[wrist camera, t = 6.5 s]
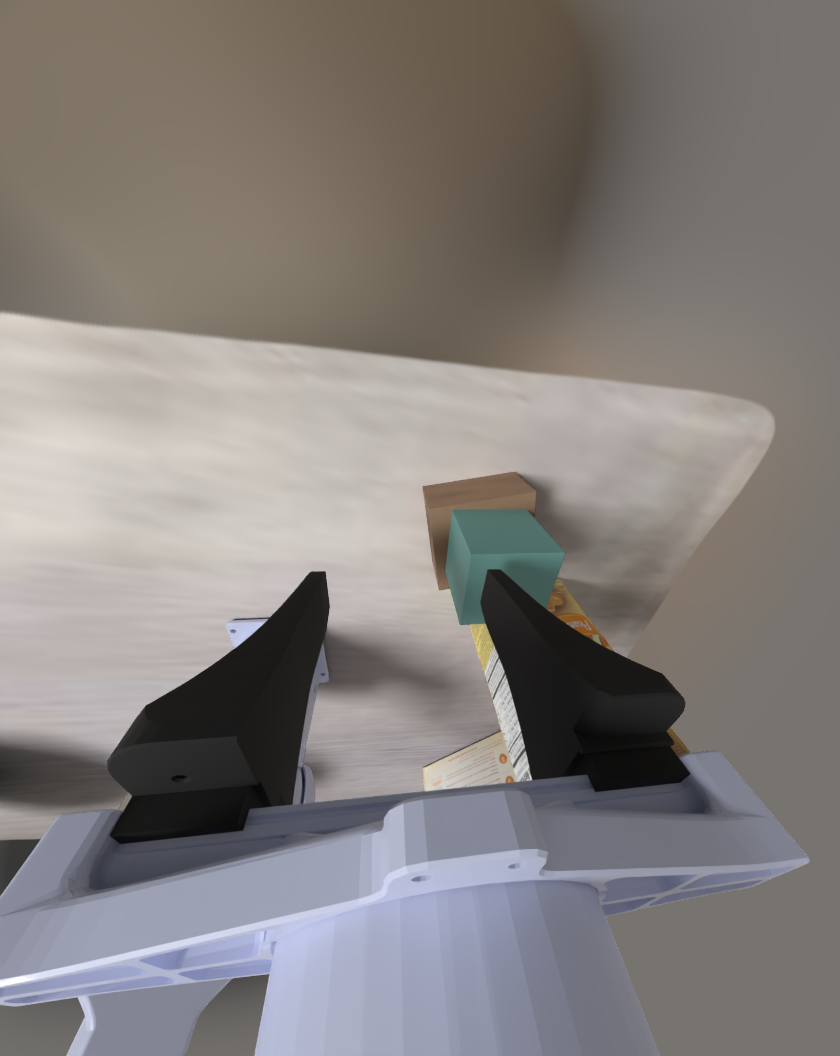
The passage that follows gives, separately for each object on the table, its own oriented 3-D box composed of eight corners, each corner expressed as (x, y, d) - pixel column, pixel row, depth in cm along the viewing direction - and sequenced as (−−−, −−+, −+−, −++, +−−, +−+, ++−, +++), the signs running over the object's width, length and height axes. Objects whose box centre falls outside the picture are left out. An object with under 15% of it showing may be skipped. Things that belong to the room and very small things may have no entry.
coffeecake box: (447, 779, 48) (479, 1003, 32) (420, 766, 45) (440, 1009, 29) (527, 743, 45) (610, 975, 28) (504, 727, 42) (584, 977, 25)
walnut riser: (510, 546, 26) (529, 575, 23) (432, 559, 26) (439, 590, 22) (513, 470, 22) (536, 491, 19) (422, 485, 22) (428, 509, 19)
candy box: (560, 576, 28) (714, 771, 15) (545, 608, 30) (668, 805, 17) (470, 572, 27) (552, 783, 14) (461, 606, 29) (524, 818, 16)
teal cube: (511, 569, 22) (541, 621, 18) (445, 571, 22) (460, 624, 17) (526, 509, 20) (565, 552, 15) (452, 509, 19) (471, 554, 15)
